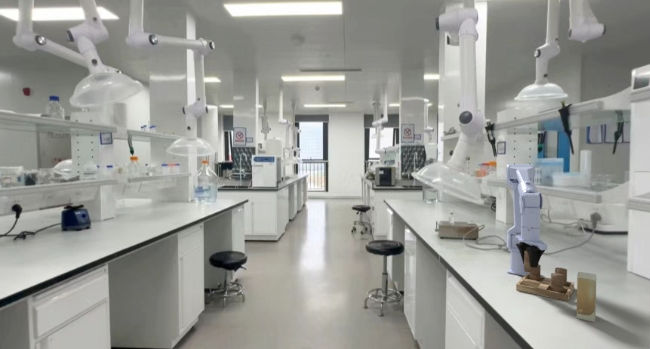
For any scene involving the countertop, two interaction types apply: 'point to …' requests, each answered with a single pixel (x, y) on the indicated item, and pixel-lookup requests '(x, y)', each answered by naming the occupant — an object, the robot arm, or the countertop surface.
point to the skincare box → (586, 296)
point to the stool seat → (547, 284)
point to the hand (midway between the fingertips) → (530, 265)
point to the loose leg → (527, 263)
